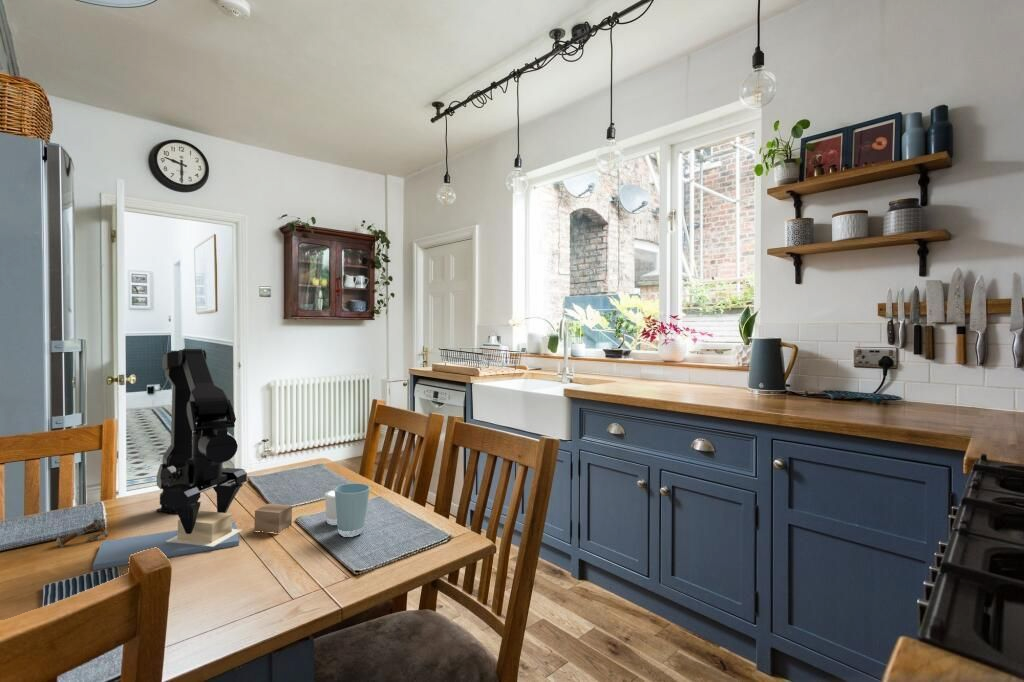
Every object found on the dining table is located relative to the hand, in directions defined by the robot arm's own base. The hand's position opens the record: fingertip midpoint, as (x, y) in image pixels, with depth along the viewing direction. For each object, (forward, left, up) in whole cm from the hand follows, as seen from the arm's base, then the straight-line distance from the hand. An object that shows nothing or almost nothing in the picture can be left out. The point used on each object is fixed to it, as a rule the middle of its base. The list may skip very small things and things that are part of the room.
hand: (205, 525), depth 108 cm
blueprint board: (+4, -5, -3) cm, 7 cm away
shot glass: (-17, +22, -4) cm, 28 cm away
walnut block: (-9, +10, -3) cm, 14 cm away
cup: (-11, +28, -4) cm, 30 cm away
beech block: (0, 0, -2) cm, 2 cm away
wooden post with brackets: (+6, -23, -4) cm, 24 cm away
